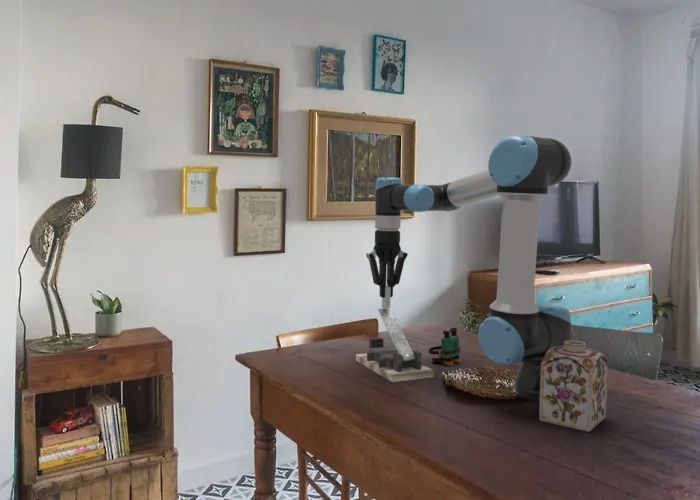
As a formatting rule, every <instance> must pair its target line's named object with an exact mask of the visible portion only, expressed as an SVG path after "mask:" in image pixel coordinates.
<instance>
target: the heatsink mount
mask: <svg viewBox="0 0 700 500" xmlns="http://www.w3.org/2000/svg"><path fill="white" fill-rule="evenodd" d="M368 341H369V345H368V347H369V350H368V352H366V353H357V354H355V362H358V363H359V364H360V365H362V366H364V367H366V368H367V369H369V370H370V371H372V372H374V373H376V374H377V375H378V376H381V377H383V379H386V380H388V381H389V382H391V383H397V382H405V381H412V380H415V381H416V380H421V379H422V380H423V379H429V378H434V374H435V373H434V372H435V370H434V369H432V368H430V367H428V366H425V365H423V364H422V352H421V351H419V350H412V351H413V353H414V354H415V356H416V359H415V360H410V361H402V355H401V354H399V353H398V351H397V349H396V347H395V345H391V346H384V338H382V337H375V338H373V337H372V338H369V339H368Z"/></svg>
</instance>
